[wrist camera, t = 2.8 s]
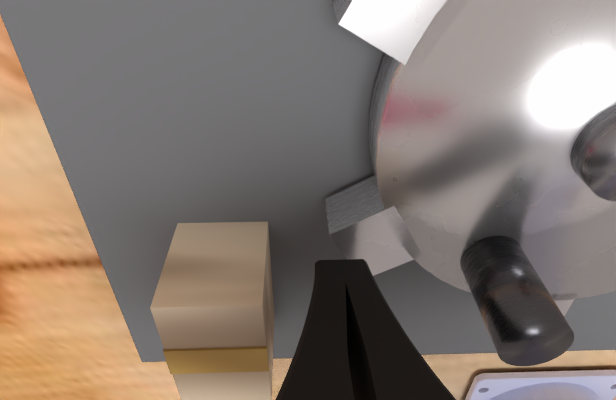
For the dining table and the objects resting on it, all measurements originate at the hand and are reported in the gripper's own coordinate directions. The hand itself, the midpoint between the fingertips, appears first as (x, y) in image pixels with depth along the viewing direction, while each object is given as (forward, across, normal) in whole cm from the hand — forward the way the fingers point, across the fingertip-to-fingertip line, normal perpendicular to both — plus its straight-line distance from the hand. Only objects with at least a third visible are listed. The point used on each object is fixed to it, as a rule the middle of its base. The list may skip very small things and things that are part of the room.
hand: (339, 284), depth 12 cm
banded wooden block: (+3, +4, +3) cm, 5 cm away
